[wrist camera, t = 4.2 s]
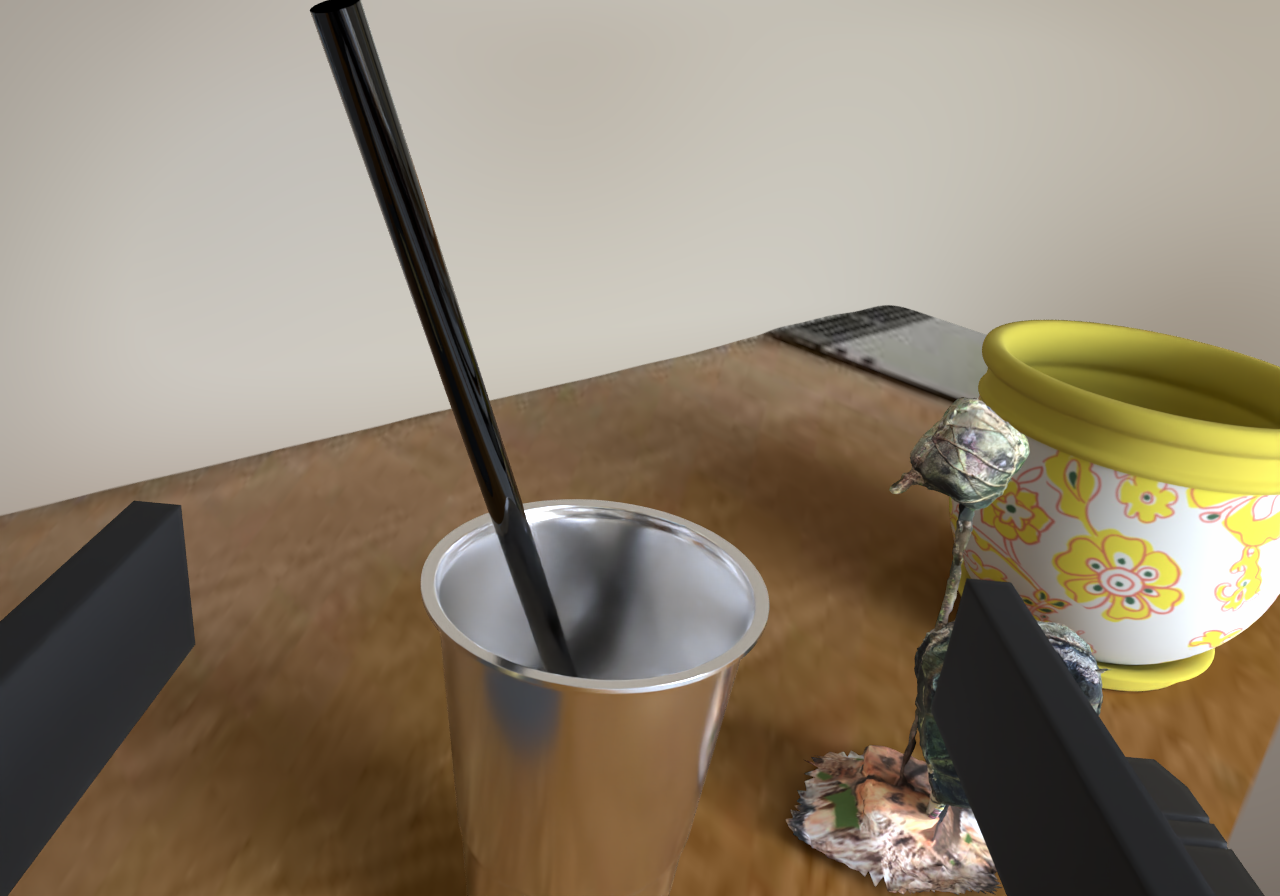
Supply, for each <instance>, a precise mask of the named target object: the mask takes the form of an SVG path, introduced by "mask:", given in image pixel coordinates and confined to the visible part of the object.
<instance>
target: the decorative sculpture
mask: <svg viewBox="0 0 1280 896" xmlns="http://www.w3.org/2000/svg"><path fill="white" fill-rule="evenodd" d="M910 455H911V457H910V460H911V464H912V470H911V471H910V472H908V473H903V475H902V477H901V479H900V480H899V481H897V482H896V483H894V484H893V485H892V486H891V487H890V489H889V490H890V491H891V493H893V494H900V493H903V492H905V491H907V489H908V488H909V487H910V486H911V485H916V484H918V485H921V486H925V487H927V488H928V489H929V490H935V491H938V492H941V493H943V494H946V495H948V496H950V497H951V498H952V499H953V500H954V501H956V502H958V503H959V515H958V520H957V522H956V531H955V542H954V546H953V552H952V554H953V561H952V565H951V570H950V577H949V579H948V580H947V588H946V593H945V596H944V600H943V604H942V607H941V610H940V613H939V616H938V619H937V622H936V626H935V629H933V630H931V631H930V632H928V633H926V637H925V639H924V640H923V643H921V645H920V647H919V648H917V650H918V651H917V652H916V655H915V668H914V670H915V675H916V678H917V684H918V685H917V691H918V694H917V697H916V701H915V705H916V707H917V709H916V711H915V721H914V723H913V725H912V728H911V731H910V736H909V744H908V746H907V748H906V750H905V753H904V754H902V753H899V752H898V751H896V750H893V749H891V748H888V747H884V746H877V745H869V746H868V747H866V748H865V750H864V753H863V755H861V756H859V755H858V754H856V753H854V752H853V751H851V752H850V754H849V755H848V757H847V756H846V754H845V753H844V752H841V753H839V754H836V753H833V752H829V753H827V754H826V755H824V756H823V757H822V758H815V757H811V758H812V759H813V761H814V762H815V763H812V762H809V761H807V762H809V763H811V764H813V765H815V766H817V767H818V768H819V769H816V770H813V771H810V772H807V773H805V774H806V775H810V776H814V777H815V778H812V779H809V780H807V781H805V785H806V790H807V791H800V790H797V791H798V793H799V795H800V797H801V798H799V799H798V800H797V802H799V803H800V804H801V805H796V806H795V807H796V808H797V809H798V810H800V811H801V812H800V811H794V810H790V811H791V814H792V816H793V818H792V819H786V822H787V824H788V826H789V827H790V829H791V830H792V831H793V832H794V833H793V835H796V836H798V839H799V840H803V841H804V842H805V843H807V844H809V845H811V846H812V848H815V849H817V850H818V851H821V852H823V853H824V854H825V855H826V856H827V858H831V859H834V860H836V861H838V862H841V863H845V864H846V865H847V866H848V867H850V868H851V869H855V870H858V871H860V872H861V873H862V874H863V875H864V876H865V875H866V874H867V872H868V871H869V873H870V875H871V878H872V880H873V883H874V885H875V886H876V885H877V884H878V882H879V881H880V880H881V879H882V877H883V876H884V879H885V882H886V886H887V890H888V891H889V892H894V893H896V892H897V891H898V892H900V893H902V894H904V893H905V892H906V891H907V890H908V891H909V893H910V894H911V892H913V893H915V892H923V891H928V892H930V890H932V891H933V892H934V893H935V890H938V891H941V892H952V893H955V894H957V895H959V894H958V892H959V893H964V894H965V891H966V890H969V891H971V890H970V889H969V888H971V889H973V890H974V891H976V892H978V893H979V891H982V892H983V893H985V892H984V891H987V892H990V893H992V894H995V893H993V892H992V891H996V890H995V889H994V888H1001V887H999V886H996V885H998V884H1001V883H999V882H997V881H995V880H997V878H996V877H995V875H994V874H995V873H996V868H995V865H994V863H993V860H992V858H991V855H990V853H989V851H988V848H987V846H986V843H985V841H984V838H983V836H982V834H981V831H980V829H979V826H978V824H977V821H976V819H975V816H974V814H973V812H972V809H971V807H970V804H969V802H968V799H967V797H966V795H965V792H964V790H963V787H962V785H961V782H960V780H959V778H958V775H957V773H956V770H955V768H954V765H953V763H952V761H951V758H950V756H949V753H948V751H947V748H946V746H945V744H944V741H943V739H942V736H941V734H940V731H939V729H938V727H937V724H936V722H935V719H934V717H933V714H932V712H931V706H932V703H933V699H934V695H935V692H936V688H937V684H938V681H939V677H940V673H941V670H942V666H943V662H944V659H945V655H946V652H947V648H948V644H949V641H950V637H951V633H952V630H953V626H954V622H955V621H953V622H949V623H948V614H949V613H950V612H951V611H952V609H953V605H954V601H955V599H956V596H957V590H958V586H959V583H960V578H961V564H962V562H963V561H964V560H963V556H964V550H965V548H966V546H967V544H968V541H969V538H970V534H971V532H972V531H973V528H972V526H973V521H972V519H973V517H974V515H975V514H974V511H975V510H978V509H983V508H986V507H988V506H989V505H990V504H991V503H992V502H993V501H994V500H995V499H996V498H998V497H1000V496H1002V495H1003V493H1004V490H1005V489H1006V488H1007V486H1008V483H1009V482H1010V480H1011V477H1012V476H1013V475H1014V474H1016V473H1017V472H1018V471H1019V470H1020V468H1021V467H1022V465H1023V464H1024V462H1025V460H1026V459H1027V457H1028V455H1029V444H1028V440H1027V438H1026V437H1025V435H1024V434H1021V433H1019V432H1018V431H1017V430H1016V429H1015V428H1014V427H1013V426H1012V425H1011V424H1009V423H1008V422H1006V421H1004V420H1003V419H1001V418H1000V417H999V416H998V415H997V414H996V413H995V412H994V411H993V410H992V409H991V408H990V407H989V406H987V405H985V403H984V402H982V401H981V400H978V399H977V398H973V399H969V398H964V397H962V398H958V399H957V400H956V401H955V402H954V403H953V404H952V405H951V406H950V407H949V408H948V409H947V411H946V412H945V414H944V416H943V418H942V419H941V420H940V421H938V422H937V423H936V424H935V425H934V426H933V427H932V428H931V429H930V430H928V431H927V432H926V433H925V434H924V435H923V437H921V438H920V440H919V442H918V443H917V444H916V445H915V447H914V448H913V450H912V451H911V453H910ZM1036 621H1037V623H1038V624H1039V626H1040V627H1041V629H1042V630H1043V632H1044V633H1045V635H1046V636H1047V638H1048V639H1049V641H1050V643H1051V644H1052V646H1053V647H1054V649H1055V650H1056V652H1057V653H1058V655H1059V656H1060V658H1061V659H1062V661H1063V662H1064V664H1065V665H1066V667H1067V669H1068V670H1069V672H1070V673H1071V675H1072V676H1073V678H1074V679H1075V681H1076V682H1077V684H1078V685H1079V687H1080V688H1081V690H1082V691H1083V693H1084V695H1085V696H1086V698H1087V699H1088V701H1089V702H1090V704H1091V705H1092V707H1093V708H1094V710H1095V711H1096V713H1097V714H1098V716H1099V714H1100V708H1101V703H1102V701H1103V694H1102V680H1101V673H1104V672H1105V671H1107V670H1111V669H1107V668H1103V669H1099V667H1098V666H1097V662H1096V660H1095V657H1094V656H1093V655H1092V652H1091V648H1090V646H1089V644H1088V643H1086V642H1085V641H1084V639H1082V638H1080V637H1079V636H1078V635H1077V633H1075V632H1074V631H1073V630H1072V629H1069V628H1068V627H1067V626H1066V625H1064V624H1060V623H1054V622H1042V621H1038V620H1036ZM917 728H918V731H919V733H920V746H921V748H922V751H923V756H924V758H925V760H926V762H924V761H920V760H917V759H915V758H913V757H912V756H911V754H912V752H913V750H914V748H915V745H916V741H915V735H916V733H917V731H916V730H917ZM818 757H821V756H818ZM805 761H806V760H805ZM983 890H984V891H983ZM971 892H972V891H971ZM985 894H986V893H985ZM995 895H996V894H995Z"/></svg>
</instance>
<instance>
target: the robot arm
mask: <svg viewBox="0 0 1280 896" xmlns="http://www.w3.org/2000/svg"><path fill="white" fill-rule="evenodd" d="M194 645H195V637H194V627H193V617H192V607H191V598H190V588H189V578H188V569H187V559H186V549H185V539H184V530H183V520H182V510H181V505H174V504H163V503H152V502H142V501H133V502H132V503H131V504H130V505H129V506H128V507H127V508H125V509H124V510H123V511H122V512H121V513H120V514H119V515H118V516H117V517H115V518H114V519H113V520H112V521H111V522H110V523H109V524H108V525H107V526H105V527H104V528H103V529H102V530H101V531H100V532H99V533H98V534H97V535H96V536H94V537H93V538H92V539H91V540H90V541H89V542H88V543H87V544H86V545H84V546H83V547H82V548H81V549H80V550H79V551H78V552H77V553H76V554H74V555H73V556H72V557H71V558H70V559H69V560H68V561H67V562H66V563H65V564H63V565H62V566H61V567H60V568H59V569H58V570H57V571H56V572H55V573H53V574H52V575H51V576H50V577H49V578H48V579H47V580H46V581H45V582H43V583H42V584H41V585H40V586H39V587H38V588H37V589H36V590H35V591H34V592H32V593H31V594H30V595H29V596H28V597H27V598H26V599H25V600H24V601H22V602H21V603H20V604H19V605H18V606H17V607H16V608H15V609H14V610H12V611H11V612H10V613H9V614H8V615H7V616H6V617H5V618H4V619H3V620H1V621H0V896H8V894H9V893H10V892H11V890H12V889H13V888H14V886H15V885H16V884H17V882H18V881H19V880H20V878H21V877H22V876H23V874H24V873H25V872H26V870H27V869H28V868H29V866H30V865H31V864H32V862H33V861H34V860H35V858H36V857H37V856H38V854H39V853H40V852H41V850H42V849H43V848H44V846H45V845H46V844H47V842H48V841H49V840H50V838H51V837H52V835H53V834H54V833H55V831H56V830H57V829H58V827H59V826H60V825H61V823H62V822H63V821H64V819H65V818H66V817H67V815H68V814H69V813H70V811H71V810H72V809H73V807H74V806H75V805H76V803H77V802H78V801H79V799H80V798H81V797H82V795H83V794H84V793H85V791H86V790H87V789H88V787H89V786H90V785H91V783H92V782H93V781H94V779H95V778H96V777H97V775H98V774H99V773H100V771H101V770H102V769H103V767H104V766H105V765H106V763H107V762H108V761H109V759H110V758H111V757H112V755H113V754H114V752H115V751H116V750H117V748H118V747H119V746H120V744H121V743H122V742H123V740H124V739H125V738H126V736H127V735H128V734H129V732H130V731H131V730H132V728H133V727H134V726H135V724H136V723H137V722H138V720H139V719H140V718H141V716H142V715H143V714H144V712H145V711H146V710H147V708H148V707H149V706H150V704H151V703H152V702H153V700H154V699H155V698H156V696H157V695H158V694H159V692H160V691H161V690H162V688H163V687H164V686H165V684H166V683H167V682H168V680H169V679H170V678H171V676H172V675H173V673H174V672H175V671H176V669H177V668H178V667H179V665H180V664H181V663H182V661H183V660H184V659H185V657H186V656H187V655H188V653H189V652H190V651H191V649H192V648H193V647H194ZM931 712H932V714H933V717H934V719H935V722H936V724H937V727H938V729H939V731H940V734H941V736H942V739H943V741H944V744H945V746H946V748H947V751H948V753H949V756H950V758H951V761H952V763H953V765H954V768H955V770H956V773H957V775H958V778H959V780H960V782H961V785H962V787H963V790H964V792H965V795H966V797H967V799H968V802H969V804H970V807H971V809H972V812H973V814H974V816H975V819H976V821H977V824H978V826H979V829H980V831H981V834H982V836H983V838H984V841H985V843H986V846H987V848H988V851H989V853H990V855H991V858H992V860H993V863H994V865H995V868H996V870H997V872H998V875H999V877H1000V880H1001V882H1002V885H1003V887H1004V889H1005V892H1006V894H1007V896H1264V894H1263V893H1262V892H1261V890H1260V889H1259V887H1258V886H1257V885H1256V883H1255V882H1254V880H1253V879H1252V877H1251V876H1250V875H1249V873H1248V872H1247V871H1246V869H1245V868H1244V866H1243V865H1242V863H1241V862H1240V861H1239V859H1238V858H1237V857H1236V855H1235V854H1234V852H1233V851H1232V850H1231V849H1228V848H1227V842H1226V841H1225V839H1224V838H1223V837H1222V835H1221V834H1220V832H1219V831H1218V829H1217V828H1216V827H1215V825H1214V824H1210V823H1209V817H1208V815H1207V814H1206V813H1205V811H1204V810H1203V808H1202V807H1201V806H1200V804H1199V803H1198V801H1197V800H1196V798H1195V797H1194V796H1193V794H1192V793H1191V791H1190V790H1189V789H1188V787H1187V786H1185V785H1184V784H1183V783H1182V782H1181V781H1179V780H1178V779H1177V778H1176V777H1175V776H1173V775H1172V774H1171V773H1170V772H1169V771H1167V770H1166V769H1165V768H1164V767H1163V766H1161V765H1160V764H1159V763H1158V762H1157V761H1155V760H1154V759H1143V758H1131V757H1125V756H1124V754H1123V753H1122V751H1121V750H1120V748H1119V747H1118V745H1117V744H1116V742H1115V740H1114V739H1113V737H1112V736H1111V734H1110V733H1109V731H1108V730H1107V728H1106V727H1105V725H1104V724H1103V722H1102V721H1101V719H1100V717H1099V716H1098V714H1097V713H1096V711H1095V710H1094V708H1093V707H1092V705H1091V704H1090V702H1089V701H1088V699H1087V698H1086V696H1085V695H1084V693H1083V691H1082V690H1081V688H1080V687H1079V685H1078V684H1077V682H1076V681H1075V679H1074V678H1073V676H1072V675H1071V673H1070V672H1069V670H1068V669H1067V667H1066V665H1065V664H1064V662H1063V661H1062V659H1061V658H1060V656H1059V655H1058V653H1057V652H1056V650H1055V649H1054V647H1053V646H1052V644H1051V643H1050V641H1049V639H1048V638H1047V636H1046V635H1045V633H1044V632H1043V630H1042V629H1041V627H1040V626H1039V624H1038V623H1037V621H1036V620H1035V618H1034V616H1033V615H1032V613H1031V612H1030V610H1029V609H1028V607H1027V606H1026V604H1025V603H1024V601H1023V600H1022V598H1021V597H1020V595H1019V594H1018V592H1017V590H1016V589H1015V587H1014V586H1013V584H1012V583H1011V582H1001V581H990V580H980V579H969V578H966V582H965V586H964V589H963V593H962V597H961V600H960V604H959V608H958V611H957V615H956V619H955V622H954V626H953V630H952V633H951V637H950V641H949V644H948V648H947V652H946V655H945V659H944V662H943V666H942V670H941V673H940V677H939V681H938V684H937V688H936V692H935V695H934V699H933V703H932V706H931Z"/></svg>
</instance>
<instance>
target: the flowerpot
mask: <svg viewBox="0 0 1280 896" xmlns="http://www.w3.org/2000/svg"><path fill="white" fill-rule="evenodd" d="M982 355H983V359H984V361H985V363H986V365H987V366H988V370H987V373H986V374H985V375H984V376H983V377H982V378H981V380H980V381H979V385H978V391H979V394H980V396H979V398H978V400H981V401H982V402H984V403H985V405H987V406H989V407H990V408H991V409H992V410H993V411H994V412H995V413H996V414H997V415H998V416H999V417H1000V418H1001V419H1003V420H1004V421H1006V422H1008V423H1009V424H1011V425H1012V426H1013V427H1014V428H1015V429H1016V430H1017V431H1018V432H1019V433H1021V434H1024V435H1025V437H1026V438H1027V440H1028V444H1029V455H1028V457H1027V459H1026V460H1025V462H1024V464H1023V465H1022V467H1021V468H1020V470H1019V471H1018V472H1017V473H1016V474H1014V475H1013V476H1012V477H1011V480H1010V482H1009V483H1008V486H1007V488H1006V489H1005V490H1004V493H1003V495H1002V496H1000V497H998V498H996V499H995V500H994V501H993V502H992V503H991V504H990V505H989V506H988V507H986V508H983V509H978V510H975V511H974V514H975V515H974V517H973V519H972V521H973V526H972V528H973V531H972V532H971V534H970V538H969V541H968V544H967V546H966V548H965V550H964V556H963V560H964V561H963V562H962V564H961V578H960V583H959V586H958V591H959V593H960V596H961V597H962V593H963V589H964V586H965V582H966V578H969V579H980V580H990V581H1001V582H1011V583H1012V584H1013V586H1014V587H1015V589H1016V590H1017V592H1018V594H1019V595H1020V597H1021V598H1022V600H1023V601H1024V603H1025V604H1026V606H1027V607H1028V609H1029V610H1030V612H1031V613H1032V615H1033V616H1034V618H1035V620H1038V621H1042V622H1054V623H1060V624H1064V625H1066V626H1067V627H1068V628H1069V629H1072V630H1073V631H1074V632H1075V633H1077V635H1078V636H1079V637H1080V638H1082V639H1084V641H1085V642H1086V643H1088V644H1089V646H1090V648H1091V652H1092V655H1093V656H1094V657H1095V660H1096V662H1097V666H1098V667H1099V669H1103V668H1107V669H1111V670H1107V671H1105V672H1104V673H1101V680H1102V688H1105V689H1112V690H1121V691H1147V690H1155V689H1160V688H1164V687H1167V686H1170V685H1172V684H1174V683H1176V682H1181V681H1185V680H1188V679H1191V678H1194V677H1196V676H1198V675H1200V674H1201V673H1203V672H1204V671H1205V670H1206V669H1207V668H1208V667H1209V666H1210V664H1211V663H1212V661H1213V658H1214V653H1215V647H1217V646H1219V645H1221V644H1223V643H1225V642H1227V641H1228V640H1230V639H1232V638H1233V637H1235V636H1236V635H1238V634H1239V633H1241V632H1242V631H1244V630H1245V629H1246V628H1248V627H1249V626H1250V625H1251V624H1253V623H1254V622H1255V621H1256V620H1257V619H1258V618H1259V617H1260V616H1261V615H1262V614H1263V613H1264V612H1265V611H1266V610H1267V609H1268V608H1269V607H1270V606H1271V604H1272V603H1273V602H1274V601H1275V599H1276V598H1277V596H1278V595H1279V594H1280V367H1279V366H1276V365H1273V364H1270V363H1268V362H1265V361H1262V360H1259V359H1256V358H1253V357H1250V356H1247V355H1244V354H1241V353H1237V352H1234V351H1231V350H1227V349H1224V348H1220V347H1216V346H1213V345H1209V344H1205V343H1202V342H1197V341H1193V340H1189V339H1185V338H1181V337H1176V336H1171V335H1167V334H1162V333H1157V332H1152V331H1147V330H1141V329H1135V328H1129V327H1123V326H1116V325H1109V324H1100V323H1092V322H1082V321H1068V320H1028V321H1019V322H1012V323H1008V324H1005V325H1001V326H999V327H997V328H995V329H993V330H992V331H991V332H989V333H988V335H987V336H986V338H985V340H984V342H983V346H982ZM949 514H950V522H951V528H952V533H953V537H954V541H955V531H956V522H957V520H958V515H959V503H958V502H956V501H954V500H953V499H952V498H951V497H950V496H949Z"/></svg>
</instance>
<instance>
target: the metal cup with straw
mask: <svg viewBox="0 0 1280 896" xmlns="http://www.w3.org/2000/svg"><path fill="white" fill-rule="evenodd" d="M310 12H311V15H312V18H313V20H314V23H315V26H316V29H317V32H318V34H319V37H320V40H321V43H322V46H323V49H324V51H325V54H326V57H327V60H328V63H329V65H330V68H331V71H332V74H333V77H334V80H335V82H336V85H337V88H338V90H339V93H340V96H341V99H342V102H343V105H344V107H345V110H346V113H347V116H348V119H349V121H350V124H351V127H352V130H353V133H354V136H355V138H356V141H357V144H358V147H359V150H360V153H361V155H362V158H363V161H364V164H365V166H366V169H367V172H368V175H369V178H370V180H371V183H372V186H373V189H374V192H375V195H376V197H377V200H378V203H379V206H380V209H381V211H382V214H383V217H384V220H385V223H386V226H387V228H388V231H389V234H390V236H391V240H392V242H393V245H394V248H395V251H396V253H397V256H398V259H399V262H400V265H401V268H402V270H403V273H404V276H405V279H406V282H407V284H408V287H409V290H410V293H411V296H412V298H413V301H414V304H415V307H416V309H417V313H418V315H419V318H420V321H421V324H422V327H423V329H424V332H425V335H426V338H427V340H428V343H429V346H430V349H431V352H432V354H433V357H434V360H435V363H436V366H437V368H438V371H439V374H440V377H441V379H442V383H443V385H444V388H445V391H446V394H447V397H448V399H449V402H450V405H451V408H452V411H453V414H454V416H455V419H456V422H457V425H458V428H459V430H460V433H461V436H462V439H463V442H464V444H465V447H466V450H467V453H468V456H469V458H470V461H471V464H472V467H473V470H474V473H475V475H476V478H477V481H478V484H479V487H480V489H481V492H482V495H483V498H484V501H485V503H486V506H487V509H488V512H489V513H487V514H484V515H482V516H479V517H477V518H475V519H473V520H471V521H468V522H467V523H465V524H463V525H461V526H459V527H458V528H456V529H455V530H453V531H452V532H451V533H449V534H448V535H447V536H445V537H444V538H443V539H442V540H441V541H440V542H439V543H438V544H437V545H436V546H435V548H434V549H433V550H432V551H431V553H430V554H429V556H428V558H427V560H426V562H425V564H424V567H423V570H422V575H421V596H422V601H423V605H424V608H425V610H426V612H427V614H428V616H429V618H430V620H431V621H432V623H433V624H434V626H435V627H436V628H437V630H438V631H439V632H440V637H441V647H442V657H443V667H444V678H445V688H446V699H447V709H448V720H449V730H450V741H451V751H452V762H453V772H454V783H455V794H456V805H457V816H458V822H459V827H460V831H461V834H462V841H463V853H464V865H465V877H466V890H467V896H669V894H670V890H671V887H672V883H673V880H674V876H675V872H676V869H677V865H678V862H679V858H680V855H681V852H682V851H683V849H684V847H685V844H686V842H687V839H688V837H689V834H690V830H691V826H692V823H693V820H694V816H695V813H696V809H697V806H698V802H699V799H700V796H701V792H702V789H703V785H704V782H705V778H706V775H707V772H708V768H709V765H710V761H711V758H712V755H713V751H714V748H715V744H716V741H717V737H718V734H719V731H720V727H721V724H722V720H723V717H724V714H725V710H726V707H727V703H728V700H729V697H730V693H731V690H732V687H733V683H734V680H735V676H736V673H737V670H738V666H739V663H740V660H741V659H742V658H743V657H744V656H746V655H747V654H748V653H749V652H750V651H751V650H752V648H753V647H754V646H755V645H756V644H757V642H758V641H759V639H760V638H761V636H762V634H763V632H764V630H765V627H766V624H767V620H768V614H769V597H768V592H767V589H766V586H765V583H764V581H763V579H762V577H761V575H760V574H759V572H758V571H757V569H756V568H755V567H754V565H753V564H752V563H751V562H750V561H749V560H748V558H747V557H746V556H745V555H744V554H742V553H741V552H740V551H739V550H738V549H737V548H735V547H734V546H733V545H732V544H730V543H729V542H727V541H726V540H724V539H723V538H721V537H720V536H718V535H716V534H715V533H713V532H711V531H709V530H707V529H705V528H703V527H701V526H699V525H697V524H695V523H693V522H690V521H688V520H685V519H683V518H680V517H677V516H674V515H671V514H668V513H665V512H662V511H658V510H654V509H650V508H646V507H641V506H637V505H631V504H625V503H619V502H611V501H600V500H579V499H571V500H549V501H540V502H532V503H526V504H522V500H521V497H520V494H519V491H518V488H517V485H516V482H515V479H514V476H513V472H512V469H511V466H510V463H509V460H508V457H507V454H506V451H505V448H504V444H503V441H502V438H501V435H500V432H499V429H498V426H497V423H496V420H495V416H494V413H493V410H492V407H491V404H490V401H489V398H488V395H487V392H486V389H485V385H484V382H483V379H482V376H481V373H480V370H479V367H478V364H477V361H476V357H475V354H474V351H473V348H472V345H471V342H470V339H469V336H468V333H467V329H466V326H465V323H464V320H463V317H462V314H461V311H460V308H459V305H458V302H457V298H456V295H455V292H454V289H453V286H452V283H451V280H450V276H449V273H448V270H447V267H446V264H445V261H444V258H443V255H442V252H441V249H440V245H439V242H438V239H437V236H436V233H435V230H434V227H433V224H432V220H431V217H430V215H429V211H428V208H427V205H426V202H425V199H424V195H423V192H422V189H421V186H420V183H419V180H418V177H417V174H416V171H415V167H414V165H413V161H412V158H411V155H410V152H409V149H408V146H407V143H406V140H405V137H404V133H403V130H402V127H401V124H400V121H399V118H398V115H397V111H396V108H395V105H394V102H393V99H392V96H391V93H390V90H389V87H388V83H387V80H386V77H385V74H384V71H383V68H382V65H381V62H380V59H379V55H378V52H377V49H376V46H375V43H374V40H373V37H372V34H371V31H370V27H369V24H368V21H367V18H366V15H365V12H364V9H363V6H362V3H361V0H327V1H324V2H322V3H319V4H317V5H315V6H313V7H312V8H311V9H310Z"/></svg>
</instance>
